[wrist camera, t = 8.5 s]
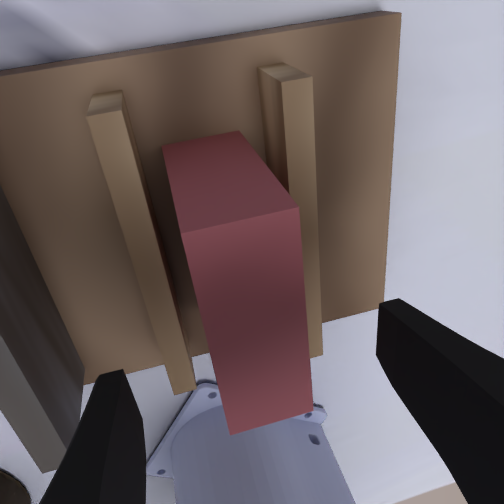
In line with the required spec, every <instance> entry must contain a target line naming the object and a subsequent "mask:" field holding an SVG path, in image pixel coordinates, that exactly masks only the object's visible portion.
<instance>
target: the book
mask: <svg viewBox="0 0 504 504" xmlns="http://www.w3.org/2000/svg"><path fill="white" fill-rule="evenodd" d="M161 147H162V151H163V156H164V160H165V165H166V169H167V174H168V178H169V183H170V187H171V192H172V196H173V201H174V205H175V210H176V215H177V219H178V224H179V228H180V233H181V237H182V241H183V245H184V249H185V253H186V257H187V261H188V266H189V270H190V274H191V278H192V282H193V286H194V290H195V294H196V298H197V302H198V307H199V311H200V315H201V319H202V323H203V327H204V331H205V335H206V339H207V343H208V347H209V352H210V356H211V360H212V364H213V368H214V372H215V376H216V380H217V384H218V388H219V393H220V397H221V401H222V405H223V409H224V413H225V417H226V421H227V425H228V429H229V434H230V435H234V434H237V433H241V432H244V431H247V430H251V429H254V428H258V427H261V426H264V425H268V424H271V423H274V422H278V421H281V420H285V419H288V418H291V417H295V416H298V415H302V414H305V413H308V412H312V411H314V410H313V396H312V382H311V368H310V354H309V340H308V326H307V312H306V298H305V284H304V270H303V256H302V242H301V228H300V214H299V206H298V205H297V204H296V203H295V201H294V200H293V199H292V197H291V196H290V195H289V194H288V192H287V191H286V190H285V188H284V187H283V186H282V185H281V183H280V182H279V181H278V179H277V178H276V177H275V176H274V174H273V173H272V172H271V170H270V169H269V168H268V167H267V165H266V164H265V163H264V161H263V160H262V159H261V158H260V156H259V155H258V154H257V153H256V151H255V150H254V149H253V147H252V146H251V145H250V144H249V142H248V141H247V140H246V138H245V137H244V136H243V135H242V133H241V132H240V131H239V130H238V131H233V132H228V133H223V134H218V135H213V136H208V137H203V138H198V139H193V140H188V141H182V142H177V143H172V144H167V145H162V146H161Z"/></svg>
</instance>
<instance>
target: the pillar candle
mask: <svg viewBox="0 0 504 504" xmlns="http://www.w3.org/2000/svg"><path fill="white" fill-rule="evenodd" d="M0 504H31V503H30V497H29V494H28V493H27V490H26V489H25V488H24V487H23V486H22V485H21V484H20V482H19V481H17V480H15V478H13V477H11V476H9V475H8V474H6V473H4V472H2V471H0Z"/></svg>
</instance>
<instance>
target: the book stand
mask: <svg viewBox="0 0 504 504" xmlns="http://www.w3.org/2000/svg"><path fill="white" fill-rule="evenodd" d="M401 14H402V13H399V12H389V11H377V12H371V13H364V14H358V15H352V16H345V17H339V18H333V19H326V20H320V21H313V22H307V23H301V24H294V25H288V26H282V27H275V28H269V29H262V30H256V31H250V32H243V33H237V34H231V35H224V36H218V37H212V38H205V39H199V40H192V41H186V42H180V43H173V44H167V45H161V46H154V47H148V48H141V49H135V50H129V51H122V52H116V53H110V54H103V55H97V56H91V57H84V58H78V59H71V60H65V61H59V62H52V63H46V64H40V65H33V66H27V67H20V68H14V69H8V70H1V71H0V410H1V411H2V413H3V414H4V416H5V417H6V419H7V421H8V422H9V424H10V425H11V427H12V428H13V430H14V431H15V433H16V434H17V436H18V437H19V439H20V440H21V442H22V443H23V445H24V446H25V448H26V449H27V451H28V452H29V454H30V456H31V457H32V459H33V460H34V462H35V463H36V465H37V466H38V468H39V469H40V471H41V472H42V473H46V472H49V471H53V470H56V469H58V467H59V465H60V463H61V461H62V459H63V457H64V455H65V453H66V451H67V449H68V446H69V444H70V442H71V440H72V438H73V435H74V433H75V431H76V429H77V427H78V424H79V421H80V412H81V402H82V393H83V385H86V384H90V383H94V382H95V381H96V379H97V377H98V376H99V375H100V374H104V373H108V372H112V371H116V370H120V369H123V370H124V372H125V374H129V373H132V372H136V371H140V370H144V369H148V368H152V367H155V366H159V365H163V364H165V368H166V371H167V374H168V377H169V380H170V383H171V387H172V390H173V393H174V395H177V394H181V393H184V392H188V391H192V390H195V389H197V386H196V380H195V375H194V369H193V363H192V358H191V357H194V356H198V355H202V354H205V353H209V347H208V343H207V339H206V335H205V331H204V327H203V323H202V319H201V315H200V311H199V307H198V302H197V298H196V294H195V290H194V286H193V282H192V278H191V274H190V270H189V266H188V261H187V257H186V253H185V249H184V245H183V241H182V237H181V233H180V228H179V224H178V219H177V215H176V210H175V205H174V201H173V196H172V192H171V187H170V183H169V178H168V174H167V169H166V165H165V160H164V156H163V151H162V147H161V146H162V145H167V144H172V143H177V142H182V141H188V140H193V139H198V138H203V137H208V136H213V135H218V134H223V133H228V132H233V131H238V130H239V131H240V132H241V133H242V135H243V136H244V137H245V138H246V140H247V141H248V142H249V144H250V145H251V146H252V147H253V149H254V150H255V151H256V153H257V154H258V155H259V156H260V158H261V159H262V160H263V161H264V163H265V164H266V165H267V167H268V168H269V169H270V170H271V172H272V173H273V174H274V176H275V177H276V178H277V179H278V181H279V182H280V183H281V185H282V186H283V187H284V188H285V190H286V191H287V192H288V194H289V195H290V196H291V197H292V199H293V200H294V201H295V203H296V204H297V205H298V206H299V214H300V228H301V242H302V256H303V270H304V284H305V298H306V312H307V326H308V340H309V354H310V358H313V357H317V356H321V355H323V344H322V323H324V322H328V321H332V320H336V319H340V318H344V317H347V316H351V315H355V314H359V313H363V312H367V311H370V310H374V309H378V308H379V303H382V302H384V289H385V273H386V256H387V240H388V224H389V208H390V192H391V176H392V160H393V143H394V127H395V111H396V95H397V79H398V63H399V47H400V30H401Z"/></svg>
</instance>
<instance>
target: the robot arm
mask: <svg viewBox="0 0 504 504" xmlns="http://www.w3.org/2000/svg"><path fill="white" fill-rule="evenodd" d="M376 356H377V358H378V360H379V362H380V364H381V366H382V368H383V370H384V372H385V374H386V376H387V377H388V379H389V381H390V383H391V385H392V387H393V388H394V390H395V391H396V393H397V394H398V396H399V397H400V399H401V400H402V401H403V403H404V404H405V406H406V407H407V409H408V410H409V412H410V413H411V415H412V416H413V417H414V419H415V420H416V422H417V423H418V425H419V426H420V428H421V429H422V430H423V432H424V433H425V435H426V436H427V438H428V439H429V440H430V442H431V443H432V445H433V446H434V448H435V449H436V451H437V452H438V453H439V455H440V457H441V458H442V460H443V461H444V463H445V464H446V466H447V468H448V469H449V471H450V473H451V474H452V476H453V478H454V480H455V481H456V483H457V485H458V487H459V489H460V490H461V492H462V494H463V496H464V497H465V499H466V501H467V503H468V504H504V358H502V357H500V356H498V355H496V354H494V353H492V352H490V351H488V350H486V349H484V348H482V347H481V346H479V345H477V344H475V343H473V342H472V341H470V340H468V339H466V338H464V337H463V336H461V335H459V334H458V333H456V332H454V331H452V330H451V329H449V328H447V327H446V326H444V325H442V324H441V323H439V322H437V321H436V320H434V319H432V318H431V317H429V316H428V315H426V314H424V313H423V312H421V311H419V310H418V309H416V308H414V307H413V306H411V305H409V304H408V303H406V302H404V301H403V300H401V299H399V298H398V299H394V300H390V301H386V302H382V303H379V311H378V328H377V345H376ZM211 392H214V393H211ZM313 410H314V411H312V412H308V413H305V414H302V415H298V416H295V417H291V418H288V419H285V420H281V421H278V422H274V423H271V424H268V425H264V426H261V427H258V428H254V429H251V430H247V431H244V432H241V433H237V434H234V435H230V434H229V429H228V425H227V421H226V417H225V413H224V409H223V405H222V401H221V397H220V393H219V388H218V385H214V384H210V383H201V384H199V385H198V386H197V389H195V390H194V391H193V393H192V395H191V396H190V398H189V399H188V401H187V402H186V404H185V405H184V407H183V409H182V410H181V412H180V413H179V415H178V416H177V418H176V419H175V421H174V423H173V424H172V426H171V427H170V429H169V430H168V432H167V433H166V435H165V437H164V438H163V440H162V441H161V443H160V444H159V446H158V447H157V449H156V451H155V452H154V454H153V455H152V457H151V458H150V460H149V461H148V463H147V465H146V449H145V438H144V429H143V419H142V416H141V414H140V411H139V408H138V406H137V403H136V401H135V398H134V396H133V393H132V390H131V388H130V385H129V383H128V380H127V377H126V375H125V372H124V370H123V369H120V370H116V371H112V372H108V373H104V374H100V375H99V376H98V377H97V379H96V381H95V384H94V387H93V390H92V392H91V395H90V397H89V400H88V403H87V405H86V408H85V410H84V412H83V415H82V417H81V420H80V422H79V424H78V427H77V429H76V431H75V433H74V435H73V438H72V440H71V442H70V444H69V446H68V449H67V451H66V453H65V455H64V457H63V459H62V461H61V463H60V465H59V467H58V469H57V471H56V473H55V475H54V477H53V479H52V481H51V482H50V484H49V486H48V488H47V490H46V492H45V494H44V496H43V498H42V499H41V501H40V503H39V504H146V474H147V475H150V476H157V477H167V478H174V488H175V498H176V504H355V501H354V499H353V497H352V494H351V492H350V490H349V488H348V485H347V483H346V481H345V479H344V476H343V474H342V472H341V470H340V467H339V465H338V463H337V461H336V458H335V456H334V454H333V451H332V449H331V447H330V445H329V442H328V440H327V438H326V436H325V433H324V431H323V429H322V427H321V424H322V422H323V421H324V420H325V419H326V417H327V413H326V411H325V410H324V409H323V408H319V407H314V406H313Z"/></svg>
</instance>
